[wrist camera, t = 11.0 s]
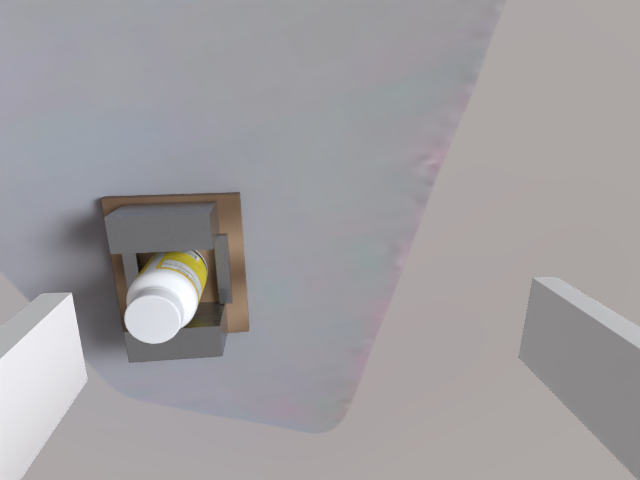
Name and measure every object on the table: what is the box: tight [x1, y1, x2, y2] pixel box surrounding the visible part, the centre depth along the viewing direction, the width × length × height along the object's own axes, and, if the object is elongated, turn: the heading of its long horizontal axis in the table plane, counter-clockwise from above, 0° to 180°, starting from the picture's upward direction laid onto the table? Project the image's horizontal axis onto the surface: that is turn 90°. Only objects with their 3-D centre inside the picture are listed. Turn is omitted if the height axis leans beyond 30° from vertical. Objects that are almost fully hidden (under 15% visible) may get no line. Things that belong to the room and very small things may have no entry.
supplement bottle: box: [124, 250, 208, 344], centre depth 35 cm, size 5×5×10 cm
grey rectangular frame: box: [104, 201, 233, 363], centre depth 38 cm, size 13×9×5 cm
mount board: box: [101, 192, 249, 333], centre depth 40 cm, size 14×12×1 cm
